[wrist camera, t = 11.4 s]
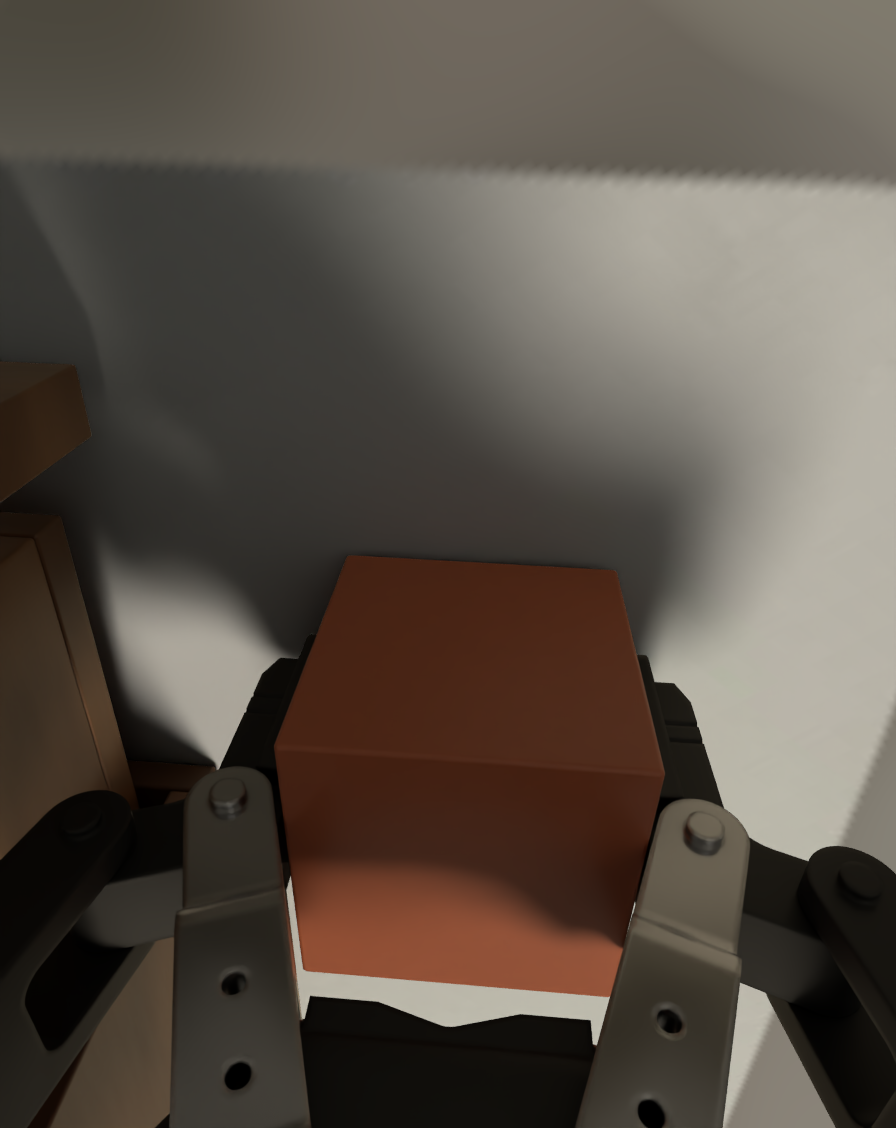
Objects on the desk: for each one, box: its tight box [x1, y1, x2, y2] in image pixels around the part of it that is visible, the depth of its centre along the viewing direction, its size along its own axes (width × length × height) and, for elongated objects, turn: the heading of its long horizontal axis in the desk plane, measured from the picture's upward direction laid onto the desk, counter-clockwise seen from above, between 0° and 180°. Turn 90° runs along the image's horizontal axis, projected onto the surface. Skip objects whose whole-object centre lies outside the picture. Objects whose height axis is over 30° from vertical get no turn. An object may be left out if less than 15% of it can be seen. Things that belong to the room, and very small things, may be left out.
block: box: [274, 555, 665, 997], centre depth 13 cm, size 5×5×5 cm
